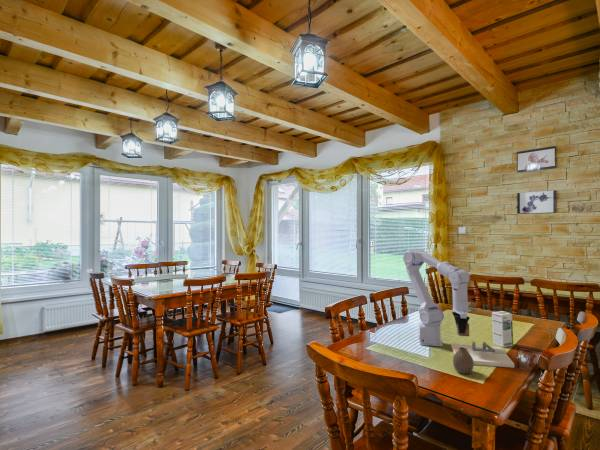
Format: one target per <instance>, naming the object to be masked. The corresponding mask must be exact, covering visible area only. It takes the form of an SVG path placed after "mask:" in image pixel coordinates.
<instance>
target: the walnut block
mask: <svg viewBox="0 0 600 450" xmlns="http://www.w3.org/2000/svg"><path fill="white" fill-rule="evenodd" d="M456 330H457V331H456V333H457V335H458V336H459V337H470V323H469V321H468V322H467V325H466V330H465V333H459V330H458V325H457V326H456Z"/></svg>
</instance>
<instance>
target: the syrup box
mask: <svg viewBox="0 0 600 450" xmlns="http://www.w3.org/2000/svg"><path fill="white" fill-rule="evenodd" d="M491 324H492V326H491V327H492V343H493V345H496V346H497V347H501V348H508V347H513V346H514V329H513V328H514V325H513V314H512V313H511V312H508V311H504V310H500V311H493V312H491Z"/></svg>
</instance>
